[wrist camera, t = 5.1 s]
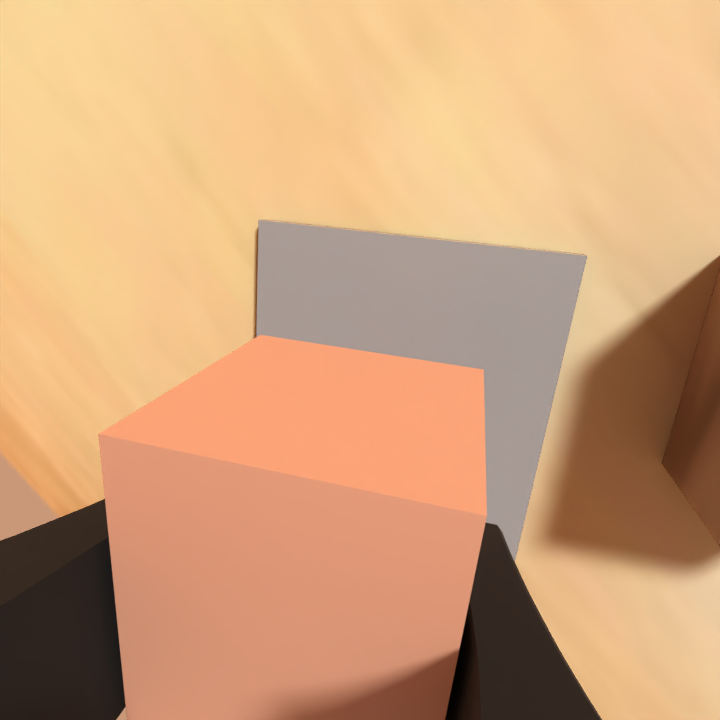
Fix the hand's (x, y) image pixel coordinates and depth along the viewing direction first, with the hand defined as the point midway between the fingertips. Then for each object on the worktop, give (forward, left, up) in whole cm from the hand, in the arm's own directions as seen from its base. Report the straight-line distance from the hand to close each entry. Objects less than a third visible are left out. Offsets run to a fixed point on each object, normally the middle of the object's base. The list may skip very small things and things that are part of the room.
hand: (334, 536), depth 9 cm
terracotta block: (0, 0, -2) cm, 2 cm away
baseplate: (0, 0, -7) cm, 7 cm away
